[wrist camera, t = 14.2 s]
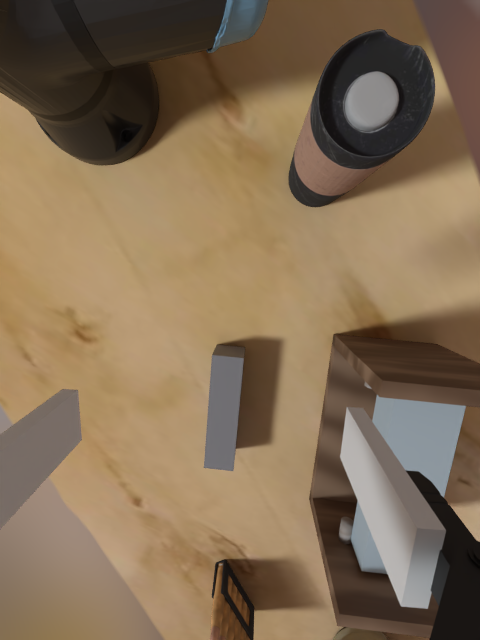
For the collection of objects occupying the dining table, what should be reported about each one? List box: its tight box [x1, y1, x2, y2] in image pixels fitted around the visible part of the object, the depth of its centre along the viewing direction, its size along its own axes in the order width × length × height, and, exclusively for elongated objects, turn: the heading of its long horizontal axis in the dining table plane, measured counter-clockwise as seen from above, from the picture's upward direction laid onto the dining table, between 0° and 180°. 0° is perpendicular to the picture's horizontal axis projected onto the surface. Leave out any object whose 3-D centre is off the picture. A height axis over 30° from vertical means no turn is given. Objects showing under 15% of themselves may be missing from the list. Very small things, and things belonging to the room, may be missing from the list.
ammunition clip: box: [210, 560, 254, 640], centre depth 46 cm, size 11×2×12 cm, turn 27°
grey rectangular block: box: [204, 345, 245, 471], centre depth 43 cm, size 16×4×5 cm, turn 175°
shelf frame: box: [309, 334, 480, 638], centre depth 37 cm, size 26×14×17 cm, turn 175°
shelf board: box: [351, 395, 466, 574], centre depth 35 cm, size 22×7×4 cm, turn 175°
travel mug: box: [289, 29, 435, 207], centre depth 30 cm, size 8×8×20 cm
